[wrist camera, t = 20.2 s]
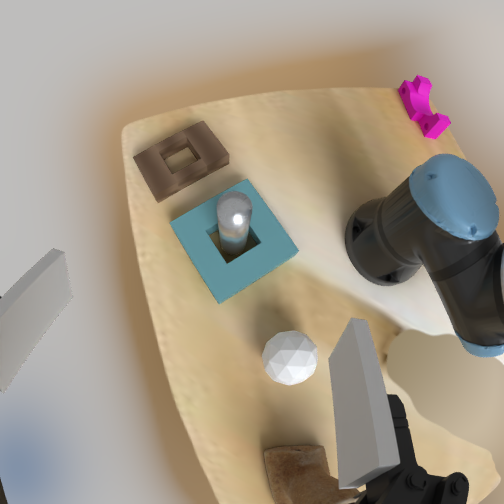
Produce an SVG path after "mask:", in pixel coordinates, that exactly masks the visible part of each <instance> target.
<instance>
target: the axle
mask: <svg viewBox="0 0 504 504" xmlns="http://www.w3.org/2000/svg"><path fill="white" fill-rule="evenodd" d="M252 209H253V206H252V202H251V200H250V198H249V197H248V196H247V195H245V194H244V193H242V192H238V191H231V192H227V193H225V194H224V195H222V196H221V197H220V199H219V200H218V202H217V217H218V227H219V236H220V245H221V248H222V250H223V251H224V252H225V253H227V254H229V255H237V254H240V253H241V252H242V251H243V250H244V248H245V246H246V241H247V236H248V230H249V225H250V220H251V215H252Z"/></svg>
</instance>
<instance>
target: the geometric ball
mask: <svg viewBox="0 0 504 504" xmlns="http://www.w3.org/2000/svg"><path fill="white" fill-rule="evenodd" d="M262 359H263V364H264V368H265V371H266V372H267V374H268V375H269V376H270V377H271V379H272V380H273V381H275V382H279V383H282V384H286V385H293V384H297V383H301V382H303V381H304V380H306V379H307V378H308V377H310V376H311V375H312V374H313V373H314V371H315V368H316V365H317V361H318V356H317V346H316V345H315V344H314V343H313V342H312V340H311V339H310V338H309V337H308V336H307V335H306V334H303V333H300V332H298V331H295V330H293V331H286V332H279V333H277V334H276V335H275V336H274V337H272V338H271V339H270V340H269V341H267V343H266V346H265V348H264V351H263V354H262Z"/></svg>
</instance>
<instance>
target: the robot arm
mask: <svg viewBox="0 0 504 504" xmlns="http://www.w3.org/2000/svg"><path fill="white" fill-rule="evenodd" d="M495 203H496V197H495V194H494V192H493V190H492V188H491V186H490V185H489V183H488V181H487V180H486V179H485V177H484V176H483V175H482V174H481V173H480V171H479V170H478V169H476V168H475V167H474V166H473V165H472V164H470V163H469V162H468V161H466V160H464V159H461V158H459V157H457V156H455V155H452V154H438V155H435V156H433V157H431V158H430V159H429V160H427V161H426V162H425V163H424V164H422V165H420V166H418V167H416V168H415V169H414V170H413V171H412V173H411V175H410V176H409V177H408V178H407V179H406V180H405V181H404V182H403V183H402V184H400V185H399V186H398V187H397V188H396V189H395V190H394V191H393V192H392V193H391V194H389V195H388V196H387V197H384V198H380V199H375V200H371V201H369V202H367V203H365V204H363V205H362V206H361V207H360V208H359V209H358V210H356V211H355V213H354V214H353V215H352V216H351V218H350V220H349V222H348V224H347V228H346V235H345V241H346V248H347V252H348V255H349V258H350V260H351V262H352V264H353V265H354V267H355V268H356V270H357V271H358V272H359V273H360V274H361V275H362V276H363V277H364V278H366V279H367V280H369V281H370V282H372V283H374V284H377V285H381V286H392V285H396V284H399V283H402V282H404V281H406V280H408V279H409V278H411V277H412V276H413V275H414V274H415V273H416V272H417V270H418V269H419V268H420V267H421V266H422V264H423V265H424V266H425V268H426V270H427V272H428V274H429V276H430V277H431V280H432V282H433V284H434V286H435V288H436V290H437V292H438V294H439V296H440V298H441V300H442V303H443V305H444V307H445V309H446V311H447V314H448V316H449V318H450V321H451V323H452V325H453V329H454V331H455V333H456V335H457V336H458V338H459V339H460V341H461V343H462V345H463V347H464V348H465V349H466V350H467V351H468V352H469V353H470V354H472V355H475V356H478V357H494V356H498V355H501V354H503V353H504V243H502V242H501V240H500V238H499V236H498V234H497V232H496V230H495V229H496V227H497V225H498V221H499V208H498V206H497V205H496V204H495ZM72 298H73V295H72V290H71V286H70V280H69V275H68V270H67V264H66V259H65V252H63V251H60V250H56V249H52V250H51V251H50V252H48V253H47V254H46V255H45V256H44V257H43V258H42V259H41V260H40V261H39V262H37V263H36V264H35V265H34V266H33V267H32V268H31V269H30V270H29V271H28V272H27V273H26V274H25V275H24V276H23V277H21V278H20V279H19V280H18V281H17V282H16V283H15V285H13V287H11V288H10V289H9V290H8V291H7V293H5V294H4V296H3V297H1V296H0V391H1V392H2V393H5V391H6V390H7V388H8V386H9V385H10V383H11V382H12V380H13V379H14V377H15V375H16V374H17V372H18V371H19V369H20V368H21V366H22V365H23V363H24V362H25V361H26V359H27V357H28V356H29V355H30V353H31V352H32V351H33V349H34V348H35V346H36V345H37V344H38V342H39V340H40V339H41V338H42V337H43V335H44V334H45V333H46V331H47V330H48V328H49V327H50V326H51V325H52V323H53V322H54V320H55V319H56V318H57V317H58V316H59V314H60V313H61V312H62V311H63V309H64V308H65V307H66V306H67V304H68V303H69V302H70V301H71V299H72ZM329 368H330V376H331V386H332V395H333V406H334V417H335V429H336V443H337V458H338V478H339V489H350V488H358V487H360V486H362V485H364V484H366V490H364V491H362V492H360V493H358V494H356V495H355V496H354V497H353V498H354V499H356V498H358V497H359V498H358V500H357V501H356V502H355V503H354V504H466V502H467V497H468V491H469V482H468V479H467V478H466V476H465V475H464V474H462V473H460V472H455V473H453V474H451V475H449V476H447V477H441V476H434V475H429V474H427V472H426V470H425V469H424V468H422V467H420V466H418V464H417V462H416V458H415V453H414V448H413V443H412V439H411V434H410V429H409V428H408V426H409V425H408V421H407V419H406V412H405V408H404V405H403V403H402V402H401V400H400V399H399V397H398V396H397V395H392V394H387V393H386V389H385V385H384V381H383V377H382V373H381V369H380V365H379V361H378V358H377V354H376V350H375V347H374V343H373V340H372V336H371V333H370V329H369V326H368V322H367V320H362V319H356V318H351V319H350V321H349V323H348V325H347V327H346V329H345V330H344V332H343V334H342V336H341V338H340V339H339V341H338V343H337V345H336V347H335V348H334V350H333V352H332V353H331V355H330V357H329ZM0 504H8V503H7V500H6V497H5V493H4V490H3V486H2V483H1V479H0Z"/></svg>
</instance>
